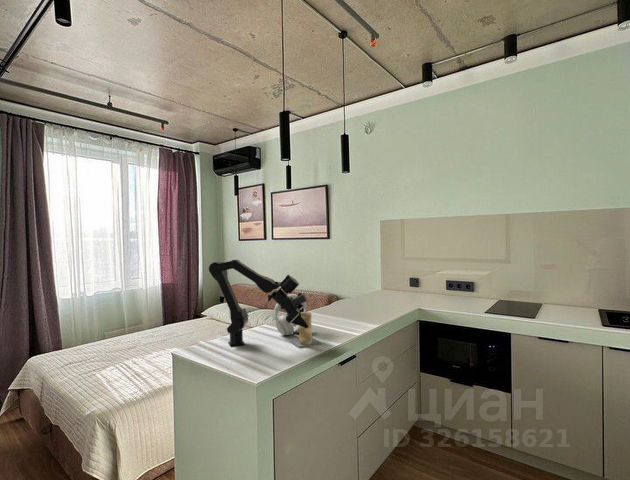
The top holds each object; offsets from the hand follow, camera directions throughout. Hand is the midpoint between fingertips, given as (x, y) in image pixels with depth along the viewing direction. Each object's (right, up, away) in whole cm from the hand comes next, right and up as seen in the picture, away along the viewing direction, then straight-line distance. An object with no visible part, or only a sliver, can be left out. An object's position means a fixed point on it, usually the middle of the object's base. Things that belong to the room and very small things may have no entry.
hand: (308, 325), depth 146 cm
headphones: (-9, -9, +17) cm, 21 cm away
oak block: (-1, -8, 0) cm, 8 cm away
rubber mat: (-2, -9, +2) cm, 9 cm away
